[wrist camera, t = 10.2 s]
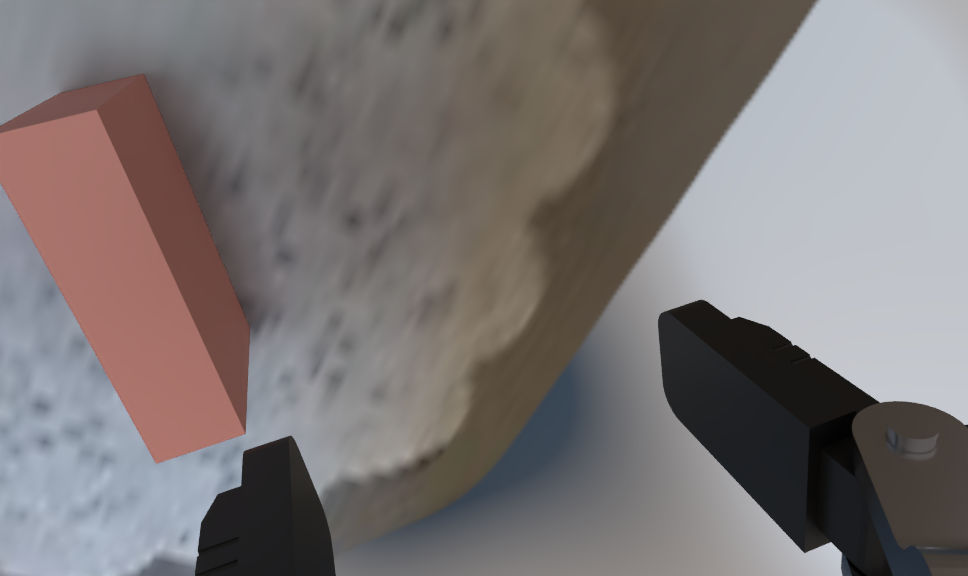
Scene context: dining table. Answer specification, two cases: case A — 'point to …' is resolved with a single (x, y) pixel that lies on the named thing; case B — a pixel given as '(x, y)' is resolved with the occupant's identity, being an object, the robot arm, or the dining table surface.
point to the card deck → (133, 259)
